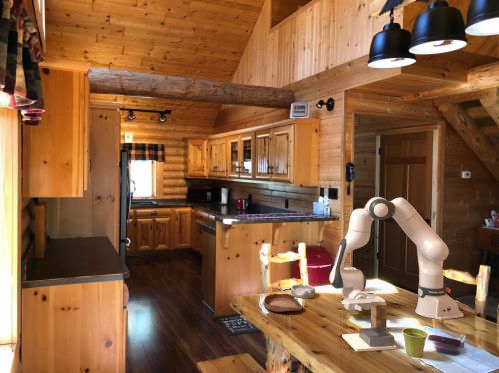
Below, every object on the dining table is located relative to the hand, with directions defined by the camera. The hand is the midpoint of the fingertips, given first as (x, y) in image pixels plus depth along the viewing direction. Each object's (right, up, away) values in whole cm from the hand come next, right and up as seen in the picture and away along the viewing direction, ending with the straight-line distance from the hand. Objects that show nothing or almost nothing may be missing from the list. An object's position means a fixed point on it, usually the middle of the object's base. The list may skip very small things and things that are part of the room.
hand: (371, 309), depth 191 cm
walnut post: (+1, -7, -7) cm, 10 cm away
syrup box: (+3, -6, +52) cm, 52 cm away
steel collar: (-5, -8, -22) cm, 24 cm away
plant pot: (+7, -8, -32) cm, 34 cm away
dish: (-26, -6, +45) cm, 53 cm away
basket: (-40, -7, +22) cm, 46 cm away
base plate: (-8, -8, -21) cm, 24 cm away
